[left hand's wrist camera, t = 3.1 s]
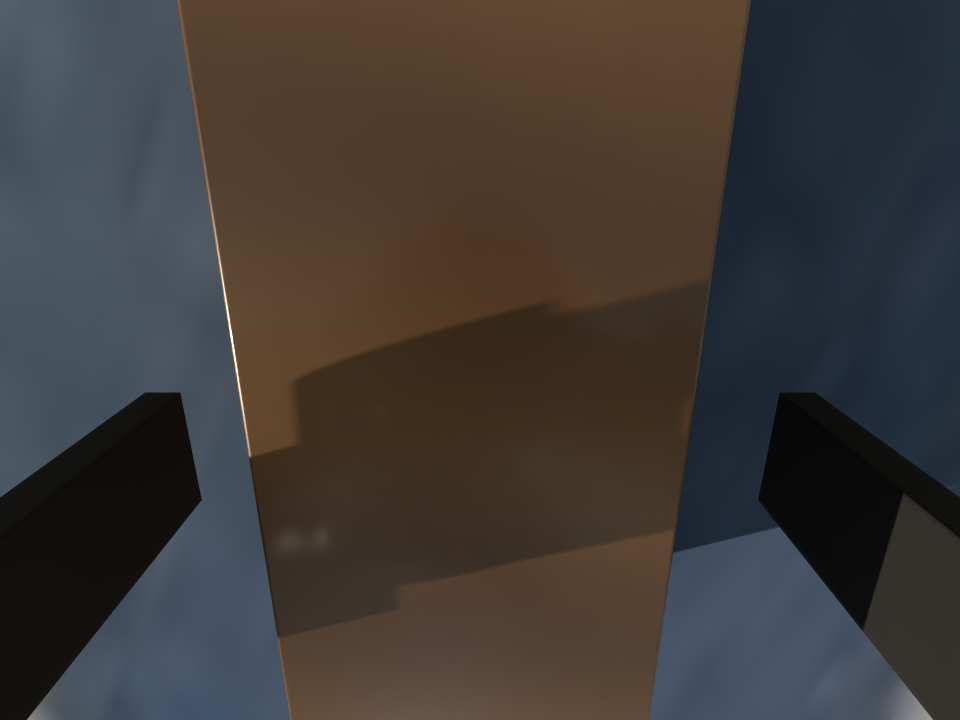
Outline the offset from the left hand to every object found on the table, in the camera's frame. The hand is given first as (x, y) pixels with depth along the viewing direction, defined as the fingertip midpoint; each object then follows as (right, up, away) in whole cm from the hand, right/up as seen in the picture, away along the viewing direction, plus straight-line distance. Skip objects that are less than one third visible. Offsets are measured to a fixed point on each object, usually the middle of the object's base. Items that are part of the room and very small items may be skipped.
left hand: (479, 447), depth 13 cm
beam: (0, +25, -6) cm, 26 cm away
